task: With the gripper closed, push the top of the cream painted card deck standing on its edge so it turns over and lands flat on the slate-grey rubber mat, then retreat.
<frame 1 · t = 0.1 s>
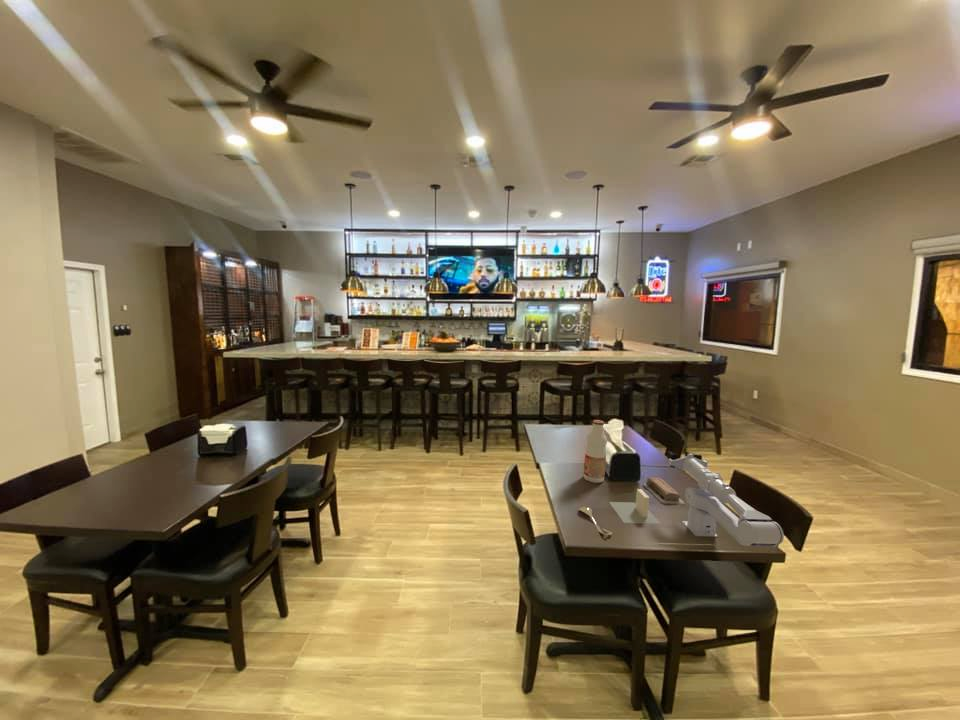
hand: (676, 453, 162), 22 cm above the table, tool horizontal, fingers open, 7 cm apart
mat: (633, 513, 155), on the table
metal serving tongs: (594, 524, 146), on the table
deck: (641, 512, 155), resting on mat
fruit juice: (593, 479, 185), on the table
packaged product: (662, 495, 173), on the table
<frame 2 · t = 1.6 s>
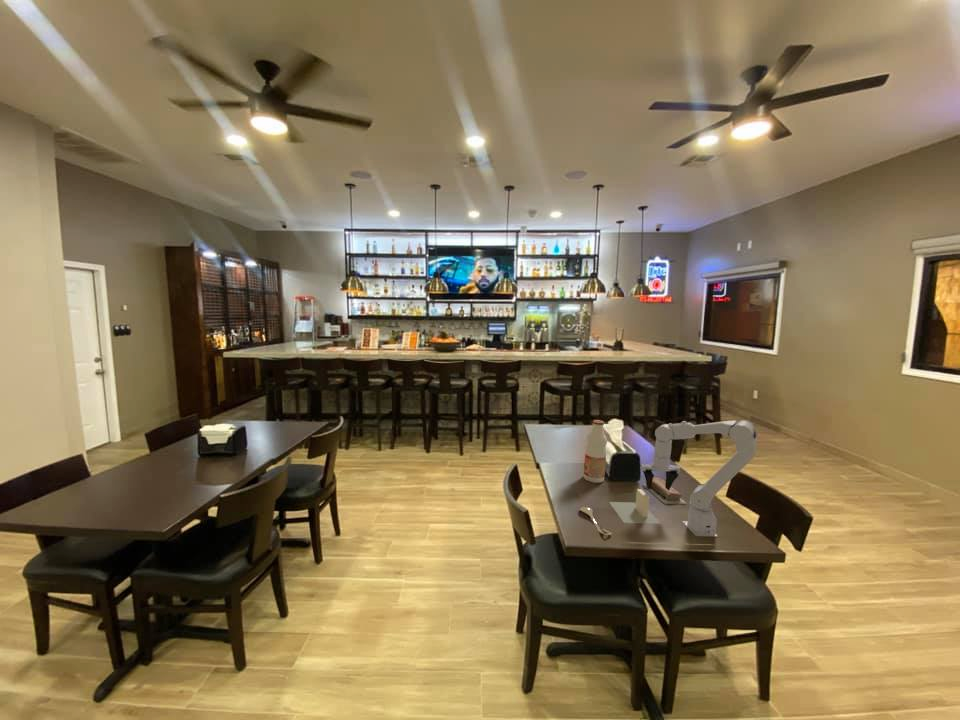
hand: (658, 488, 154), 10 cm above the table, tool pointing down, fingers open, 7 cm apart
nothing on the table moved.
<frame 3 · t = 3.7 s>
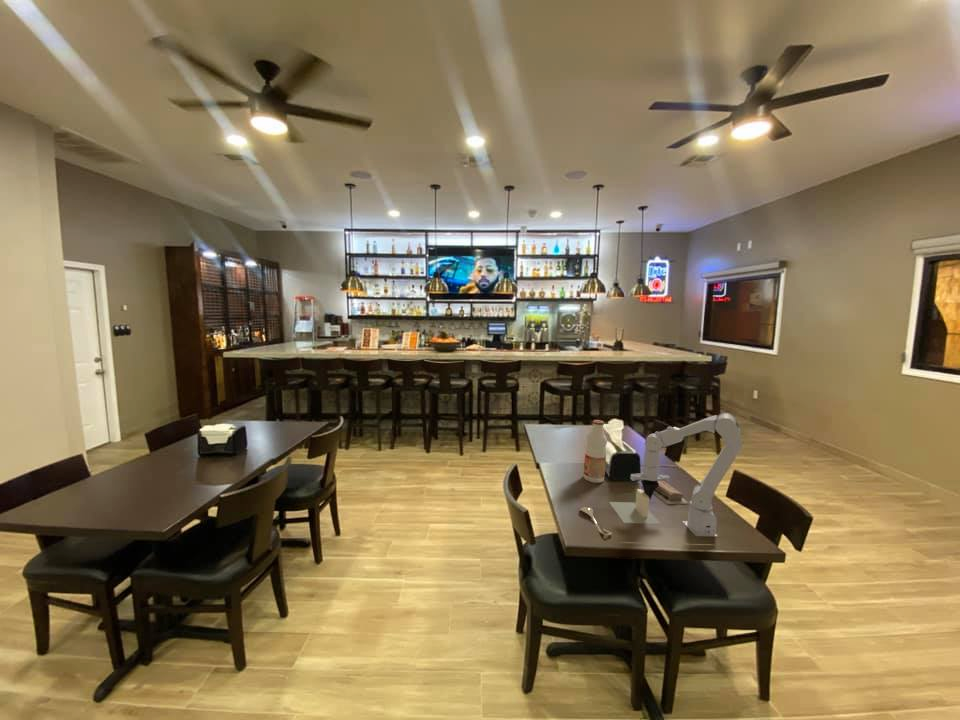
hand: (647, 498, 154), 6 cm above the table, tool pointing down, fingers closed
deck: (641, 512, 155), resting on mat, touching gripper
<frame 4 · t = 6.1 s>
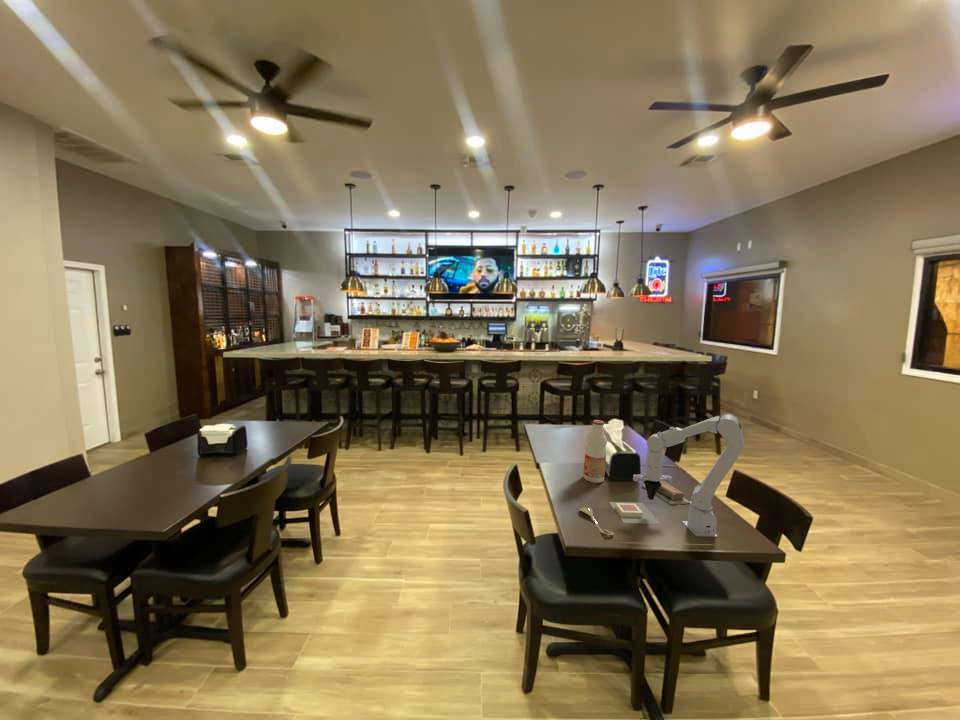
hand: (650, 498, 154), 6 cm above the table, tool pointing down, fingers closed
deck: (638, 510, 155), point 1 cm above the table, tilted 90°, touching mat
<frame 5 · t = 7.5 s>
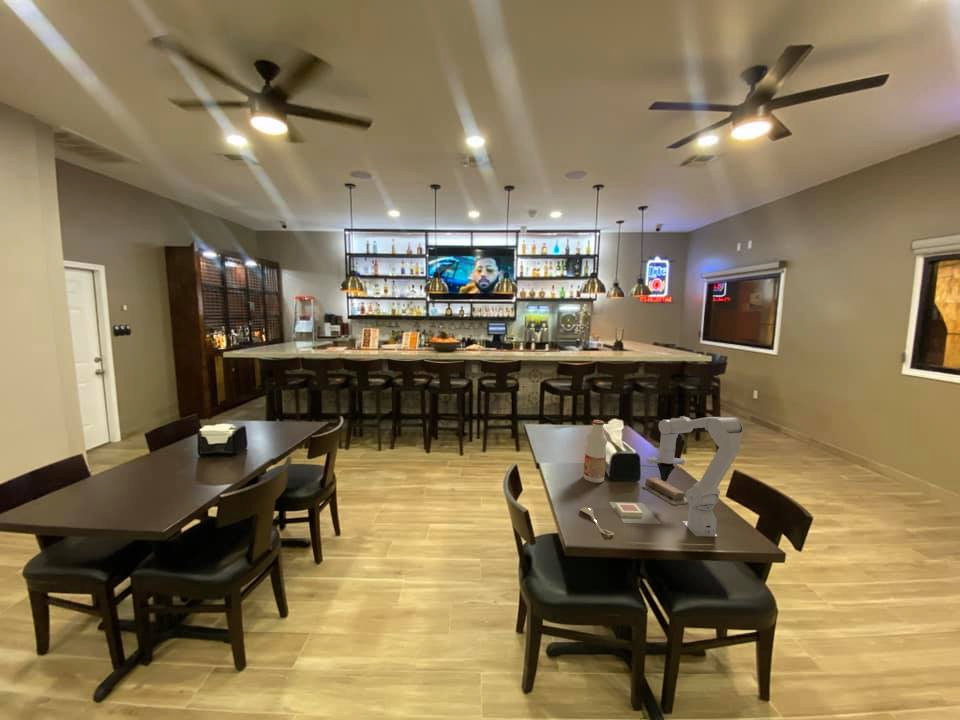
hand: (663, 480, 162), 10 cm above the table, tool pointing down, fingers closed
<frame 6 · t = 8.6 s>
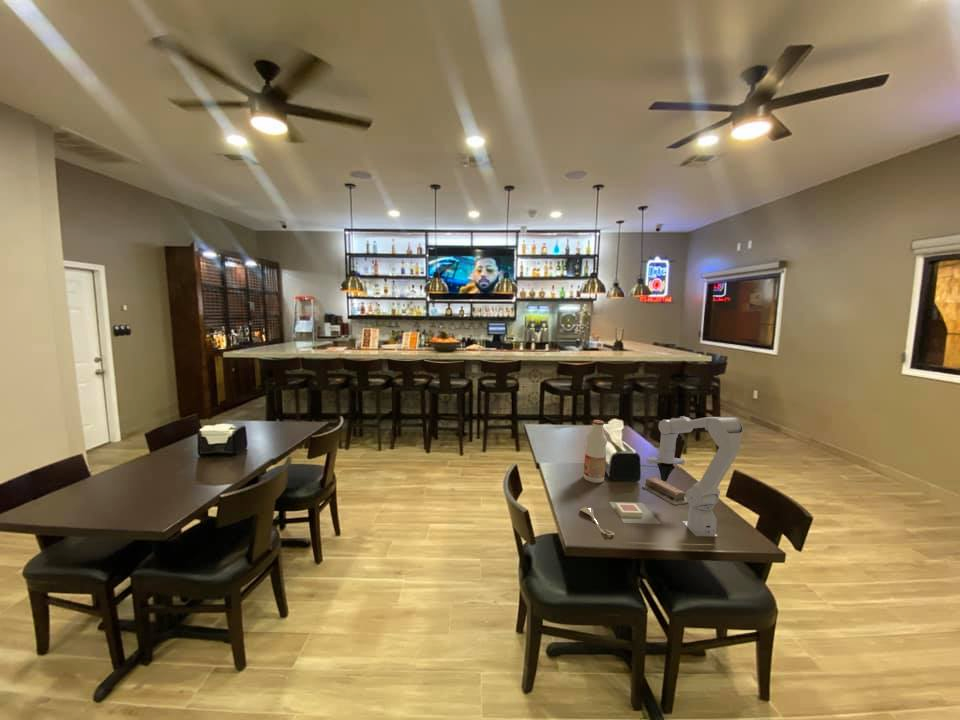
hand: (663, 480, 162), 10 cm above the table, tool pointing down, fingers closed
at the end: deck tilted 90°; deck inside the target area (2.5 cm from its centre), point 1.3 cm above the table; the gripper is holding nothing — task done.
